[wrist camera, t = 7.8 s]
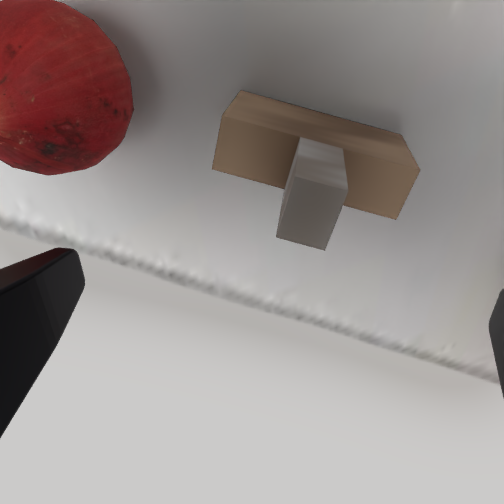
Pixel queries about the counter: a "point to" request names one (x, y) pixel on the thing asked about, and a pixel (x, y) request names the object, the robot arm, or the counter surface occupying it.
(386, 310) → the counter surface
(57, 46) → the onion
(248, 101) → the door
